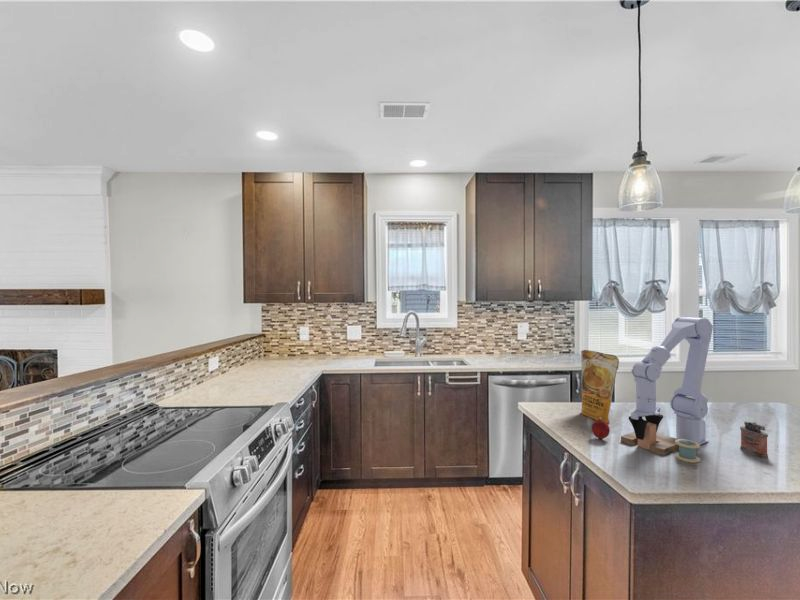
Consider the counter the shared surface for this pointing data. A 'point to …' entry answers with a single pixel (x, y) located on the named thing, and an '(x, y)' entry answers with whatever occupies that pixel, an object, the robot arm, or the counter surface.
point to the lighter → (754, 439)
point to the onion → (600, 429)
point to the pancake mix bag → (597, 383)
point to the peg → (648, 436)
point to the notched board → (661, 447)
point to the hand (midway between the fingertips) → (646, 436)
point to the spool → (687, 450)
